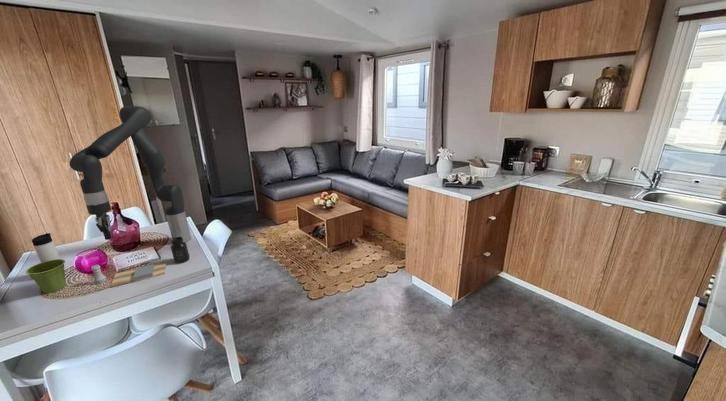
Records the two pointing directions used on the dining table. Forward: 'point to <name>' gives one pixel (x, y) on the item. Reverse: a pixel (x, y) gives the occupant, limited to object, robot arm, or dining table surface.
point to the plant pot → (49, 275)
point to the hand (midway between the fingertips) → (108, 238)
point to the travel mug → (45, 248)
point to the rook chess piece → (98, 275)
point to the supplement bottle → (179, 250)
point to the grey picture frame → (143, 272)
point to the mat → (128, 275)
